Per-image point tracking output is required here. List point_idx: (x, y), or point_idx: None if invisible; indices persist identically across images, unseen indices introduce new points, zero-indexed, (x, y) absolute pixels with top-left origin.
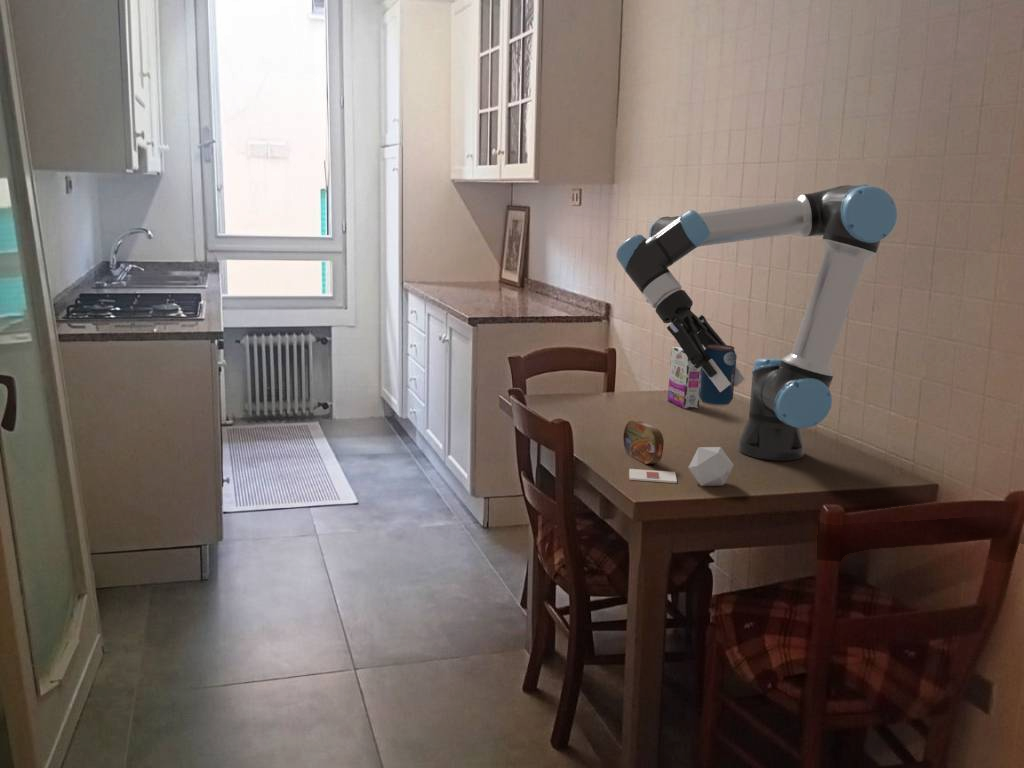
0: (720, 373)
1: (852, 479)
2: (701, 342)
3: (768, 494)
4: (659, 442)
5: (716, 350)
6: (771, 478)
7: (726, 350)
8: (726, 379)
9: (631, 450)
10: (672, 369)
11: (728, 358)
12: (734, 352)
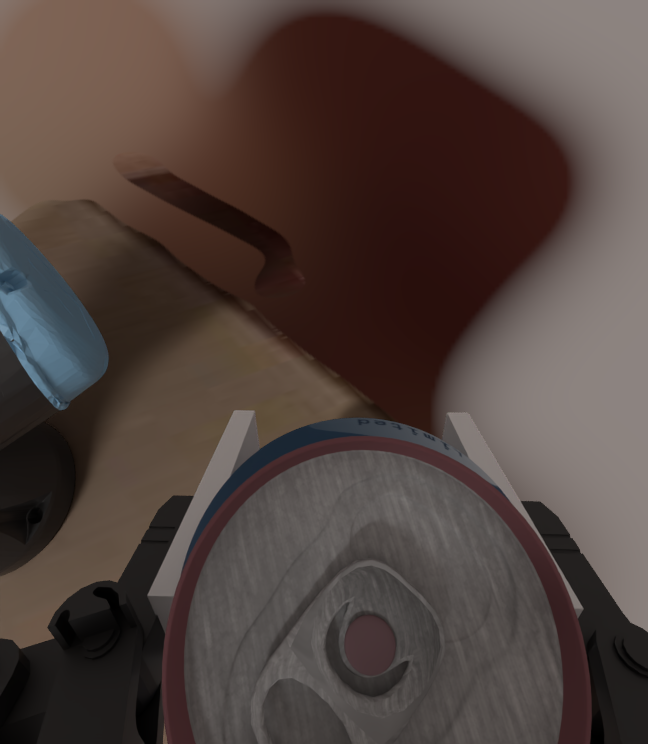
0: (501, 475)
1: (124, 293)
2: None
3: (324, 376)
4: None
5: (558, 604)
6: (213, 411)
7: (476, 480)
8: (471, 434)
9: None
10: None
11: (452, 447)
12: (332, 434)
